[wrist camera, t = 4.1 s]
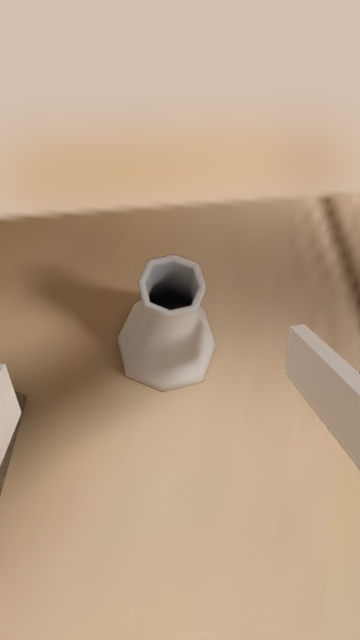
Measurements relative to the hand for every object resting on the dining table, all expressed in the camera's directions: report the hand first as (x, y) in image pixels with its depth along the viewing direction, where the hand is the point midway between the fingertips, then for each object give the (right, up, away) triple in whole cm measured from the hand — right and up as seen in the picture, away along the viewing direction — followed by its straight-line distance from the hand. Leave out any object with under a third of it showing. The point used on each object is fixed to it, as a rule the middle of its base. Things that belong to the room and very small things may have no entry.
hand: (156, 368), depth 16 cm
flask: (0, +1, +9) cm, 9 cm away
